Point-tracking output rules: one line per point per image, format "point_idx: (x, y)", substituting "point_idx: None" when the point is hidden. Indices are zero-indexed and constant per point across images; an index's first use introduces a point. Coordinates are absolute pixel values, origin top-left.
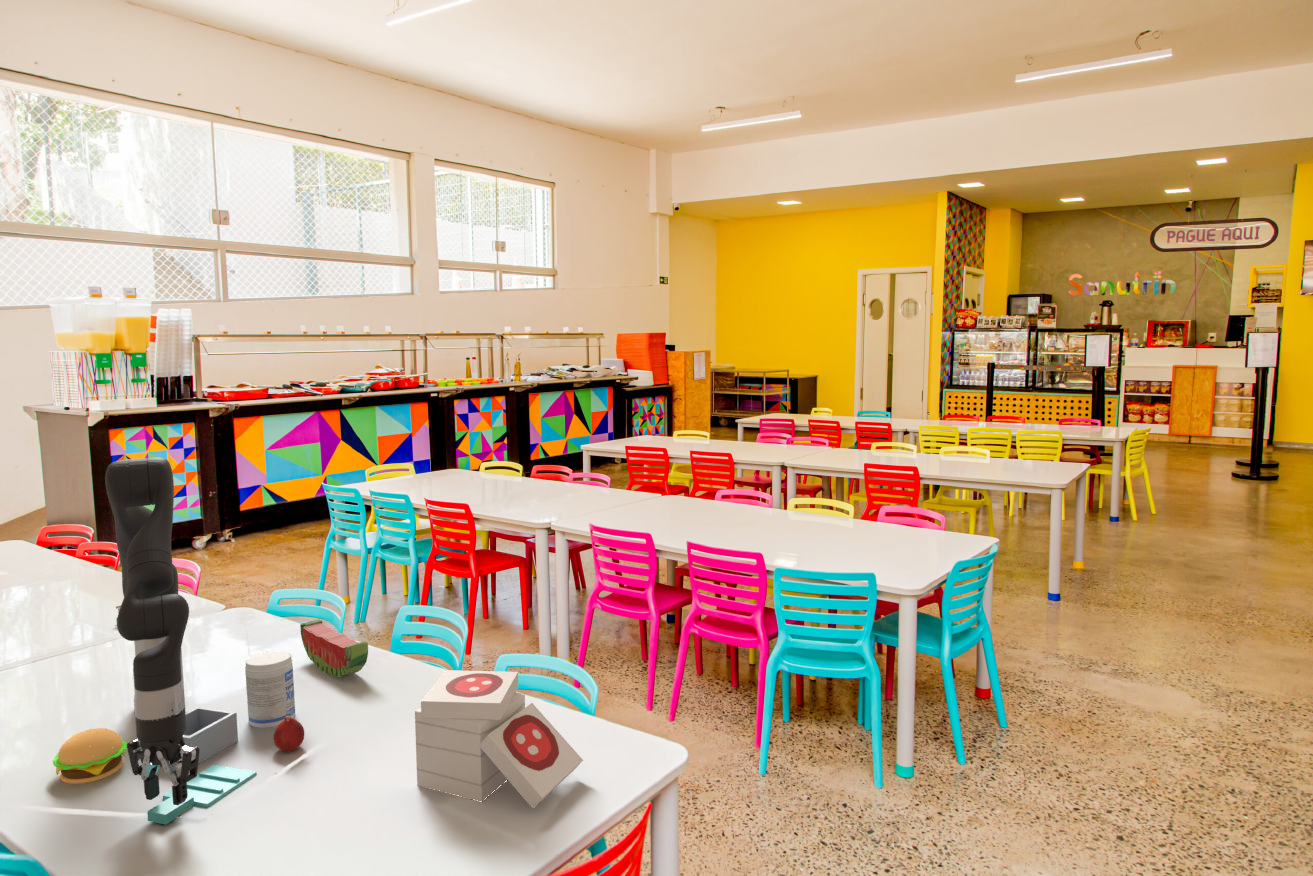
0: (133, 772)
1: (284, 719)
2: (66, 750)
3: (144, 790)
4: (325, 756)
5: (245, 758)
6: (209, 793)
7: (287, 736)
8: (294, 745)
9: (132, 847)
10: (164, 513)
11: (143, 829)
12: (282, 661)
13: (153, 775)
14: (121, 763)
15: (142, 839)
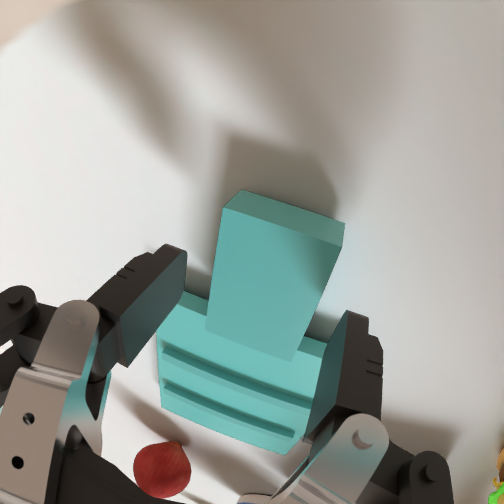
0: (442, 471)
1: (240, 502)
2: None
3: (382, 362)
4: (114, 411)
5: (249, 455)
6: (196, 352)
7: (142, 465)
8: (145, 447)
9: (297, 33)
10: None
11: (341, 175)
12: None
13: (316, 442)
14: (499, 463)
15: (293, 93)
